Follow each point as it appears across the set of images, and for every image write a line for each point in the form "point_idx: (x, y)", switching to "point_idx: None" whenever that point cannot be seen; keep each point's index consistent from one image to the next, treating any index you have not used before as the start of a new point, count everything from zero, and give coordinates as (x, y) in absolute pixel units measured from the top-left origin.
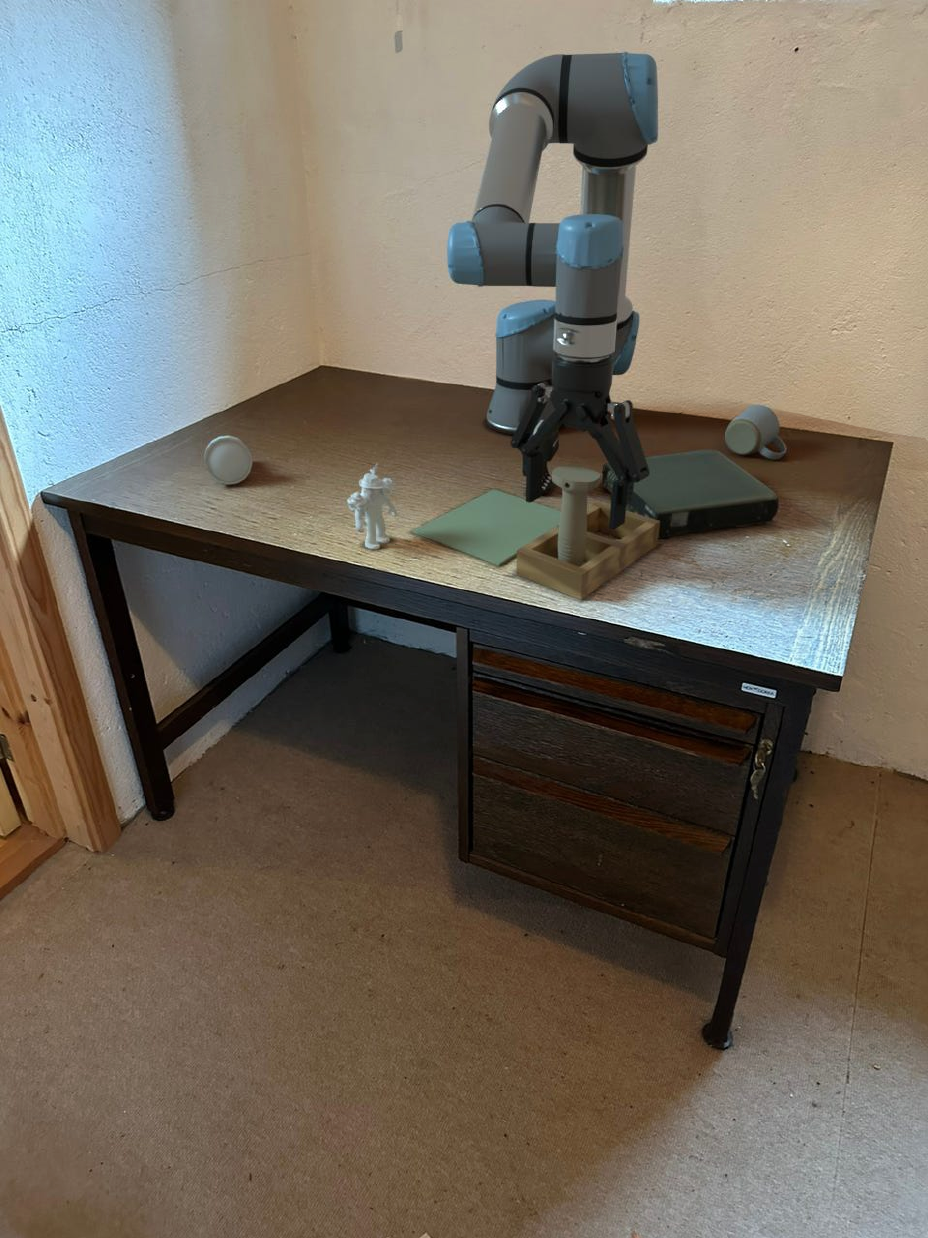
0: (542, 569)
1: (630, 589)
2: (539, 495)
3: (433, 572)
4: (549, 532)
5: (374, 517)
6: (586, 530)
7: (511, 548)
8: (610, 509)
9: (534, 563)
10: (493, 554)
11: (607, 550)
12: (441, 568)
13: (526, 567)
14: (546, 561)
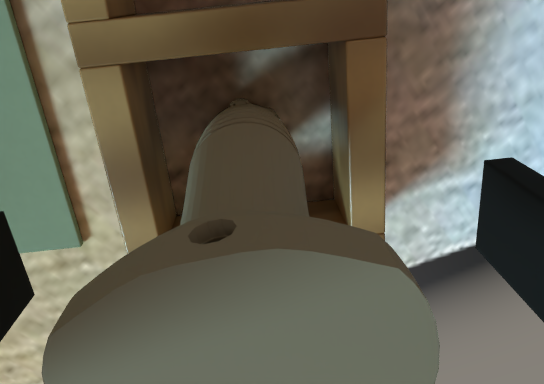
0: None
1: (439, 84)
2: (3, 233)
3: (10, 362)
4: (105, 129)
5: None
6: (298, 162)
7: (22, 160)
8: (529, 306)
9: None
10: (23, 222)
11: (358, 88)
12: (3, 340)
13: None
14: None
